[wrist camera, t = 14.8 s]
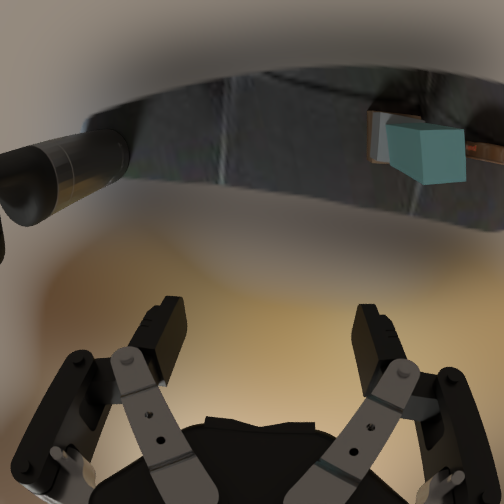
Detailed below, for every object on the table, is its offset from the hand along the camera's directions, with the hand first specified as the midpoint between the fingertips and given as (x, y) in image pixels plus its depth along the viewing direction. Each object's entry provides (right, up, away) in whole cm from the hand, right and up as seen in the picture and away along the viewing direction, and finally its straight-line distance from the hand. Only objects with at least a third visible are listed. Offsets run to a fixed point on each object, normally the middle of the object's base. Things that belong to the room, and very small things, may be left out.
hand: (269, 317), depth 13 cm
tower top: (+18, +18, +21) cm, 32 cm away
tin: (+37, +19, +21) cm, 47 cm away
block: (+18, +16, +18) cm, 30 cm away
